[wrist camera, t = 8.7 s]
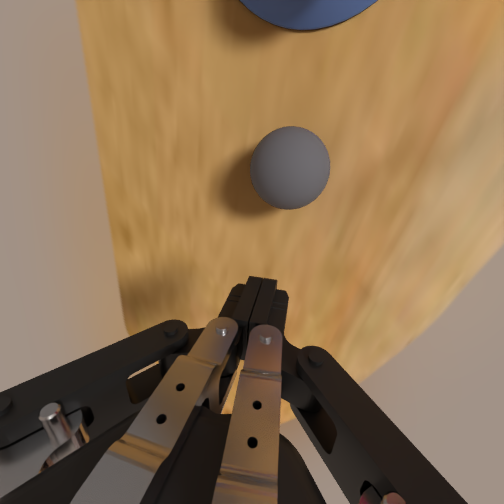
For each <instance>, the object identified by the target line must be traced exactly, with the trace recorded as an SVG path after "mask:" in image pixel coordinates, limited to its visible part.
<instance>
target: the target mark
mask: <svg viewBox="0 0 504 504" xmlns="http://www.w3.org/2000/svg"><path fill="white" fill-rule="evenodd" d="M240 1H241V2H242V3H243V4H244V5H245V6H246V7H247V8H248V9H249V10H250V11H252V12H253V13H254V14H256V15H257V16H259V17H260V18H261V19H263V20H265V21H268V22H270V23H272V24H274V25H277V26H280V27H284V28H287V29H295V30H314V29H320V28H325V27H329V26H332V25H335V24H338V23H340V22H343V21H346V20H347V19H349V18H351V17H353V16H355V15H357V14H359V13H361V12H362V11H363V10H365V9H366V8H368V7H369V6H371V5H372V4H374V3H375V2H376V1H377V0H240Z"/></svg>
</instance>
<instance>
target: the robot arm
mask: <svg viewBox="0 0 504 504" xmlns="http://www.w3.org/2000/svg"><path fill="white" fill-rule="evenodd" d="M288 300H289V297H288V295H287V293H286V291H284V290H277V280H274V279H267V278H264V279H263V278H260V277H254V276H249V278H248V280H247V283H246V285H245V284H237V285H236V286H235V287H233V288H232V290H231V292H230V294H229V296H228V298H227V301H226V302H225V304H224V306H223V308H222V310H221V312H220V314H219V316H218V318H215V319H213V320H211V321H210V322H209V323H208V324H207V326H206V327H205V328H200V329H188V327H187V325H186V324H185V323H184V322H183V321H180V320H168V321H165V322H163V323H160V324H158V325H156V326H153V327H151V328H149V329H146V330H144V331H142V332H139V333H137V334H135V335H132V336H130V337H128V338H126V339H123V340H121V341H118V342H116V343H114V344H112V345H109V346H107V347H105V348H102V349H100V350H98V351H95V352H93V353H91V354H88V355H86V356H84V357H82V358H79V359H77V360H75V361H72V362H70V363H68V364H65V365H63V366H61V367H58V368H56V369H54V370H51V371H49V372H47V373H45V374H42V375H40V376H37V377H35V378H33V379H31V380H28V381H26V382H23V383H21V384H19V385H17V386H14V387H12V388H10V389H7V390H5V391H3V392H0V504H326V502H325V500H324V498H323V496H322V494H321V493H320V491H319V489H318V487H317V485H316V483H315V481H314V479H313V477H312V475H311V474H310V472H309V470H308V468H307V466H306V464H305V462H304V460H303V459H302V457H301V455H300V454H299V452H298V451H297V449H296V448H295V447H294V446H293V445H292V443H291V442H290V441H289V440H288V439H286V438H285V437H284V436H283V435H281V434H280V433H279V429H280V405H281V398H282V399H284V400H286V401H288V402H289V403H290V406H291V409H292V411H293V413H294V414H295V416H296V418H297V419H298V421H299V422H300V424H301V426H302V427H303V429H304V430H305V432H306V433H307V435H308V437H309V438H310V440H311V442H312V443H313V445H314V446H315V448H316V450H317V451H318V453H319V454H320V456H321V458H322V459H323V461H324V462H325V464H326V466H327V467H328V469H329V470H330V472H331V474H332V475H333V477H334V479H335V480H336V482H337V483H338V485H339V486H340V488H341V490H342V491H343V493H344V495H345V496H346V498H347V499H348V501H349V503H350V504H468V503H467V502H466V501H465V500H464V499H463V498H462V497H461V496H460V495H459V494H458V493H457V492H456V490H455V489H454V488H453V487H452V486H451V485H450V484H449V483H448V482H447V481H446V480H445V478H444V477H443V476H442V475H441V474H440V473H439V472H438V471H437V470H436V469H435V468H434V466H433V465H432V464H431V463H430V462H429V461H428V460H427V459H426V458H425V457H424V456H423V455H422V454H421V452H420V451H419V450H418V449H417V448H416V447H415V446H414V445H413V444H412V443H411V442H410V440H409V439H408V438H407V437H406V436H405V435H404V434H403V433H402V432H401V431H400V430H399V429H398V427H397V426H396V425H395V424H394V423H393V422H392V421H391V420H390V419H389V418H388V417H387V416H386V414H385V413H384V412H383V411H382V410H381V409H380V408H379V407H378V406H377V405H376V404H375V402H374V401H373V400H372V399H371V398H370V397H369V396H368V395H367V394H366V393H365V392H364V391H363V389H362V388H361V387H360V386H359V385H358V384H357V383H356V382H355V381H354V380H353V379H352V378H351V376H350V375H349V374H348V373H347V372H346V371H345V370H344V369H343V368H342V367H341V366H340V365H339V363H338V362H337V361H336V360H335V359H334V358H333V357H332V356H331V355H330V354H329V353H328V352H327V351H326V350H324V349H322V348H320V347H317V346H306V347H304V348H302V349H299V348H297V347H295V346H293V345H291V344H290V343H289V342H288V341H287V340H286V338H285V336H284V329H285V323H286V315H287V307H288ZM240 359H241V360H245V361H244V366H243V370H241V372H240V377H239V382H238V386H237V391H236V396H235V401H234V406H233V411H232V414H221V412H222V409H223V407H224V404H225V402H226V399H227V397H228V394H229V392H230V389H231V387H232V384H233V382H234V380H235V377H236V374H237V368H238V365H239V362H240ZM158 360H159V364H157V365H155V366H153V367H151V368H149V369H147V370H146V371H143V372H141V373H139V374H137V375H135V376H134V377H132V378H130V379H128V377H129V376H130V375H132V374H133V373H135V372H137V371H139V370H140V369H143V368H144V367H146V366H148V365H150V364H152V363H154V362H156V361H158Z"/></svg>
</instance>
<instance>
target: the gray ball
mask: <svg viewBox="0 0 504 504" xmlns="http://www.w3.org/2000/svg"><path fill="white" fill-rule="evenodd" d="M329 174H330V159H329V154H328V151H327V149H326V147H325V145H324V144H323V142H322V141H321V139H320V138H319V137H318V136H317V135H315V134H314V133H313V132H311V131H309V130H307V129H304V128H301V127H294V126H289V127H282V128H279V129H276V130H274V131H272V132H271V133H269V134H268V135H266V136H265V137H264V138H263V139H262V140H261V141H260V143H259V144H258V145H257V147H256V148H255V151H254V153H253V156H252V159H251V164H250V176H251V180H252V184H253V186H254V188H255V190H256V192H257V193H258V195H259V196H260V197H261V198H262V199H263V200H264V201H265V202H267V203H268V204H270V205H272V206H274V207H276V208H280V209H297V208H301V207H303V206H306V205H308V204H309V203H311V202H312V201H314V200H315V199H316V198H317V197H318V196H319V195H320V194H321V192H322V191H323V189H324V188H325V186H326V184H327V181H328V178H329Z"/></svg>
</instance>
